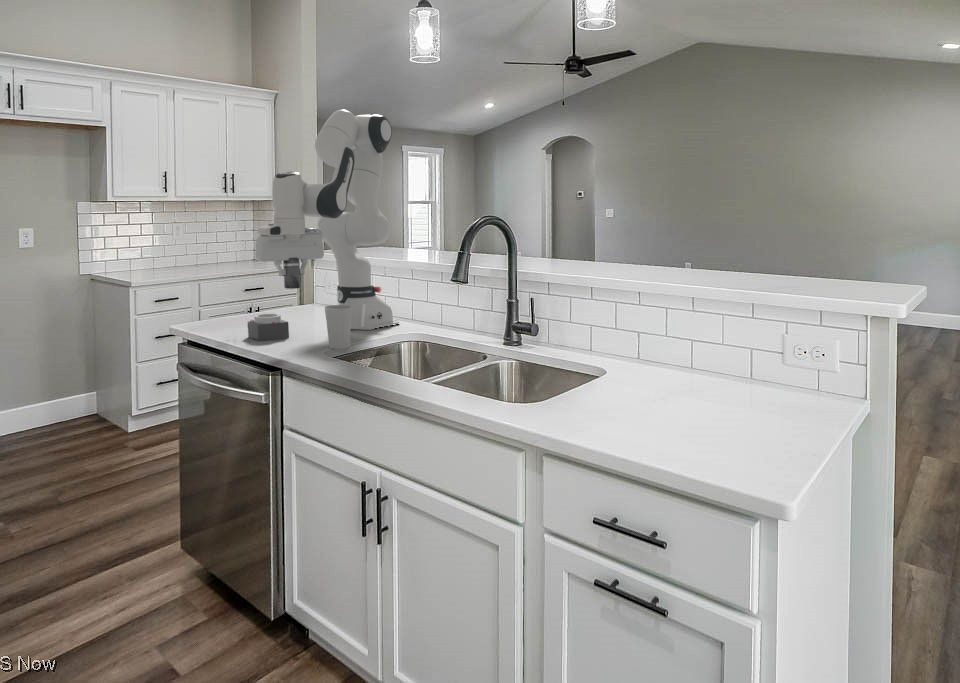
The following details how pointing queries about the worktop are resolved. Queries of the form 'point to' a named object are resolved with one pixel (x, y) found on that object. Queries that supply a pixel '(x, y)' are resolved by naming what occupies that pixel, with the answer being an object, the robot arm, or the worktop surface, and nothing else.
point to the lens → (292, 273)
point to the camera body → (268, 327)
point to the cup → (338, 325)
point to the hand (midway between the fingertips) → (291, 275)
